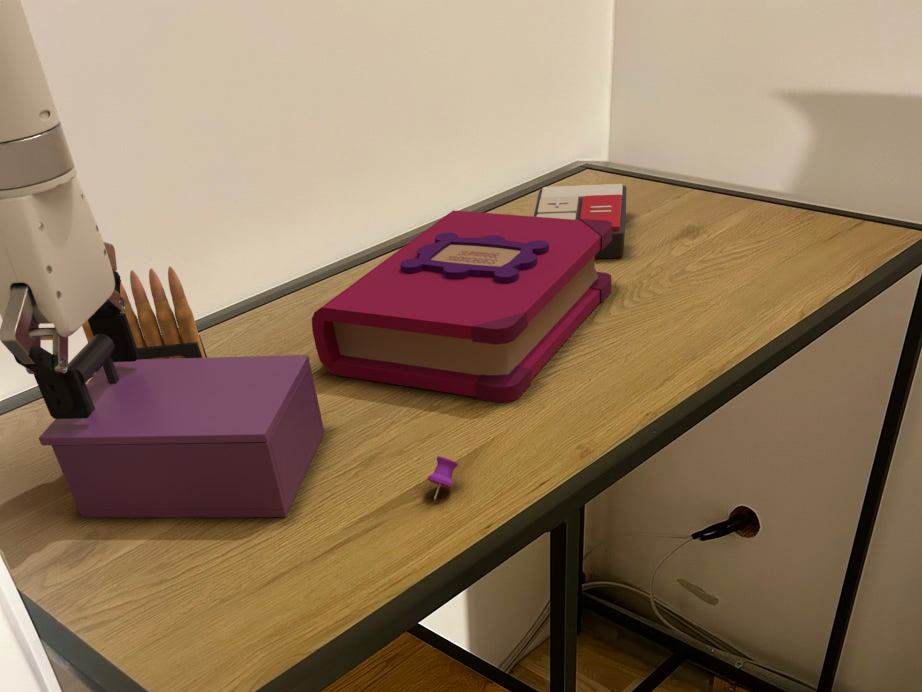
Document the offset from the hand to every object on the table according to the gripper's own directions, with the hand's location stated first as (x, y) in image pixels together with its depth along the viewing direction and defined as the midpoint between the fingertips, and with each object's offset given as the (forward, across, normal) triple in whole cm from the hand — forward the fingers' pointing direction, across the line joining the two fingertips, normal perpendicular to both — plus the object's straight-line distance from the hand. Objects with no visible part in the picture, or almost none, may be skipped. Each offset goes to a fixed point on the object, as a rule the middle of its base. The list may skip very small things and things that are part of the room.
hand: (98, 387), depth 77 cm
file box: (+8, 0, +7) cm, 11 cm away
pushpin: (+8, +3, +28) cm, 30 cm away
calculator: (+8, -54, +37) cm, 66 cm away
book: (+8, -28, +27) cm, 40 cm away
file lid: (+1, 0, +7) cm, 7 cm away
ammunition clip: (+8, -15, -3) cm, 17 cm away
